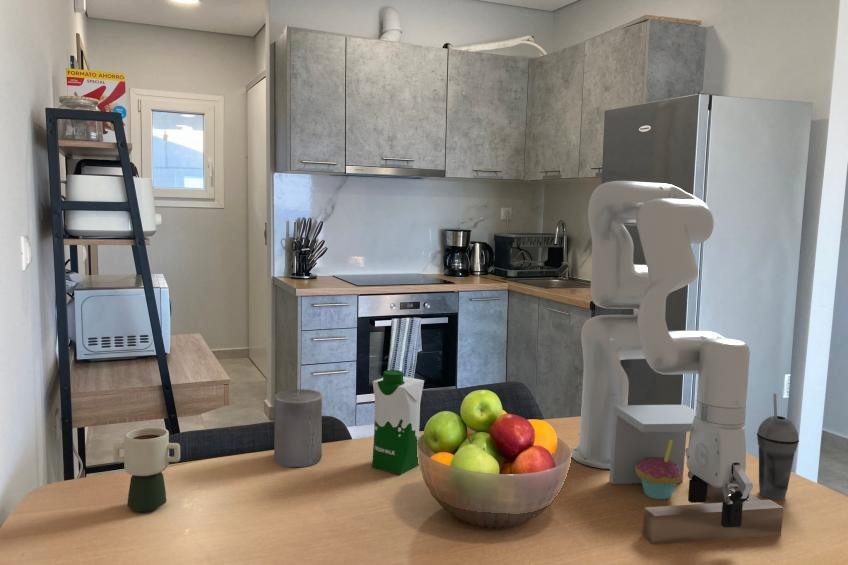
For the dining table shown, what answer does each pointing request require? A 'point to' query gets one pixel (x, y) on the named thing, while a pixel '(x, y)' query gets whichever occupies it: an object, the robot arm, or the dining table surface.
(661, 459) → the cupcake
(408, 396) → the milk carton
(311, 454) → the pillar candle
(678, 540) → the wooden corner bracket
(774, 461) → the beverage cup
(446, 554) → the dining table surface
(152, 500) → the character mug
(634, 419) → the shelf
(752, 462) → the dining table surface
